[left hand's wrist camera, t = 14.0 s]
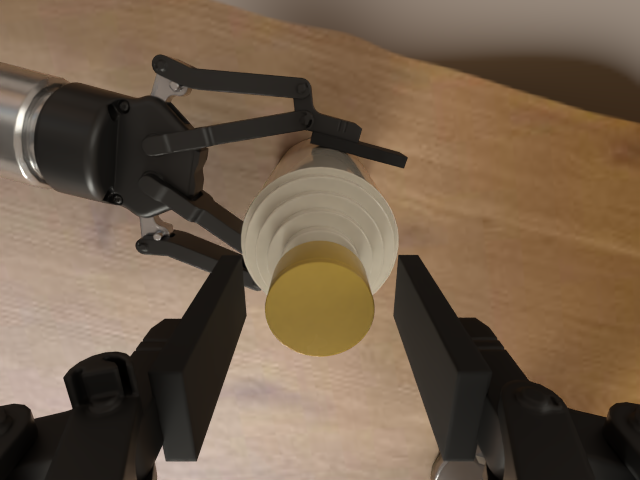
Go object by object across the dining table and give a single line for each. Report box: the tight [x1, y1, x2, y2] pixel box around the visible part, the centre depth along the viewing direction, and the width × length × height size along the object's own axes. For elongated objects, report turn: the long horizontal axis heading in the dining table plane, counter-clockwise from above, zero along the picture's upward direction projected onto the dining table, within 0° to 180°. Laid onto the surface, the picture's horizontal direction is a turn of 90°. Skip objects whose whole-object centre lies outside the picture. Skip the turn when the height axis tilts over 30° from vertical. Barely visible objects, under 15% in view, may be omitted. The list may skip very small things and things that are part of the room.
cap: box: [265, 241, 374, 357], centre depth 14 cm, size 4×4×2 cm
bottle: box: [241, 139, 399, 295], centre depth 23 cm, size 8×8×21 cm
